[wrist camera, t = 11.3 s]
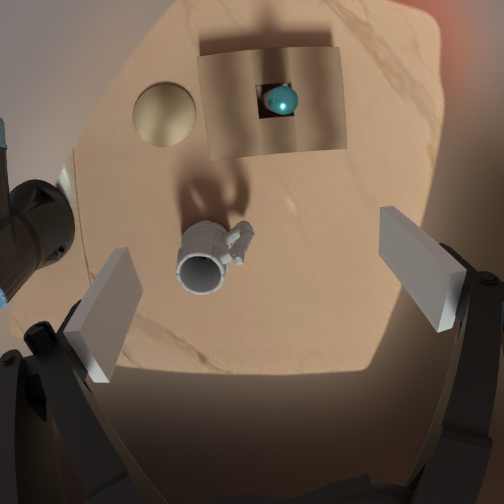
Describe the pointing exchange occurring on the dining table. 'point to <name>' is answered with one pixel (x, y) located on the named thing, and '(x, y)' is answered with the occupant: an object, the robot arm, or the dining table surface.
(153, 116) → the coaster
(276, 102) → the peg
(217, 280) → the mug
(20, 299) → the dining table surface
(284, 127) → the hole board
